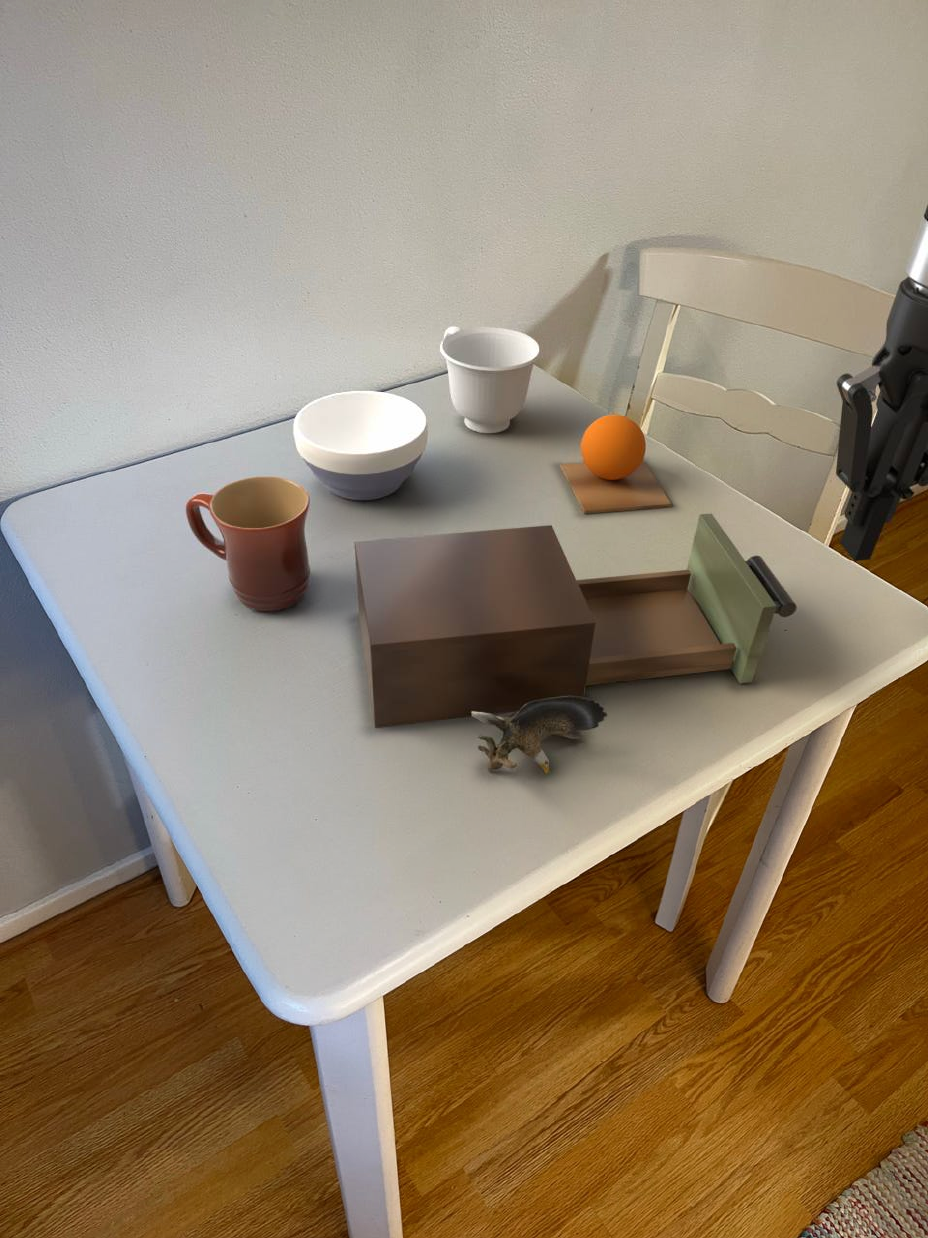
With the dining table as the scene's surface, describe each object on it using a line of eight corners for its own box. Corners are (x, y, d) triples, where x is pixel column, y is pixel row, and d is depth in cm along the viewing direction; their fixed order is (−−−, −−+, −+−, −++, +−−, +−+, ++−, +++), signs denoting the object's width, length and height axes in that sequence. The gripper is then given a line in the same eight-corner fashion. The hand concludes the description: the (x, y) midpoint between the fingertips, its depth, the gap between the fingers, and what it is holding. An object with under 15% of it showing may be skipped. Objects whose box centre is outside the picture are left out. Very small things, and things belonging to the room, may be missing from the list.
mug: (333, 575, 88) (326, 486, 82) (293, 630, 82) (281, 538, 75) (225, 550, 91) (209, 462, 84) (178, 602, 85) (156, 510, 78)
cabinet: (543, 602, 86) (551, 524, 80) (583, 703, 76) (595, 622, 70) (359, 620, 83) (354, 541, 77) (374, 727, 73) (370, 645, 67)
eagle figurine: (537, 811, 66) (623, 740, 69) (494, 731, 63) (586, 662, 67) (486, 787, 72) (567, 723, 76) (447, 714, 70) (532, 652, 74)
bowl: (278, 505, 97) (271, 443, 93) (325, 441, 108) (321, 382, 103) (407, 526, 95) (406, 463, 90) (442, 458, 106) (442, 399, 101)
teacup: (482, 384, 121) (485, 311, 115) (554, 429, 112) (562, 352, 106) (408, 407, 116) (406, 332, 109) (477, 456, 107) (480, 377, 100)
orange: (656, 478, 99) (654, 411, 97) (593, 483, 98) (590, 416, 96) (633, 475, 106) (631, 412, 104) (574, 480, 105) (571, 417, 103)
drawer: (735, 582, 89) (755, 509, 83) (798, 677, 79) (826, 600, 73) (523, 603, 85) (529, 528, 80) (560, 704, 75) (570, 627, 70)
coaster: (671, 506, 99) (671, 503, 99) (584, 513, 98) (584, 510, 97) (641, 460, 107) (641, 457, 106) (560, 466, 105) (560, 463, 105)
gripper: (903, 310, 61) (806, 583, 76) (1072, 302, 63) (944, 570, 78) (848, 270, 66) (768, 532, 82) (1005, 264, 68) (898, 521, 84)
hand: (854, 550), depth 80 cm, fingers closed
